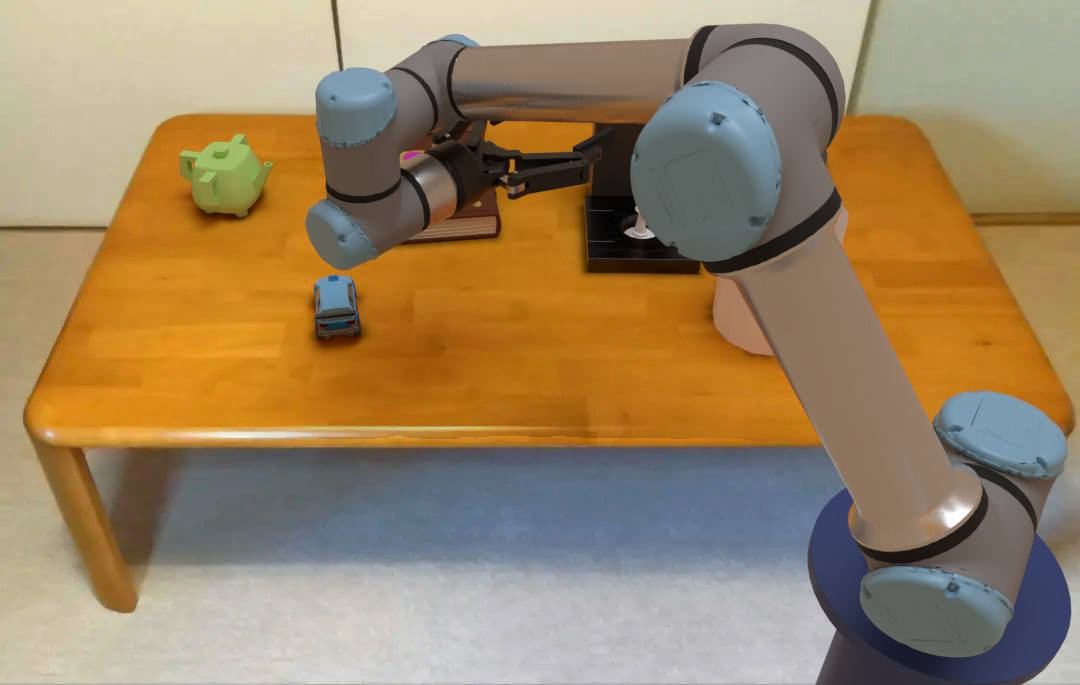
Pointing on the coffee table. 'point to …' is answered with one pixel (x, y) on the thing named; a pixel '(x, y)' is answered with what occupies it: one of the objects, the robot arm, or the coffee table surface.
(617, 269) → the drip pan
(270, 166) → the teapot
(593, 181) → the column
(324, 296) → the toy car
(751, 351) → the container
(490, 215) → the book
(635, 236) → the chess piece
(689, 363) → the coffee table surface
